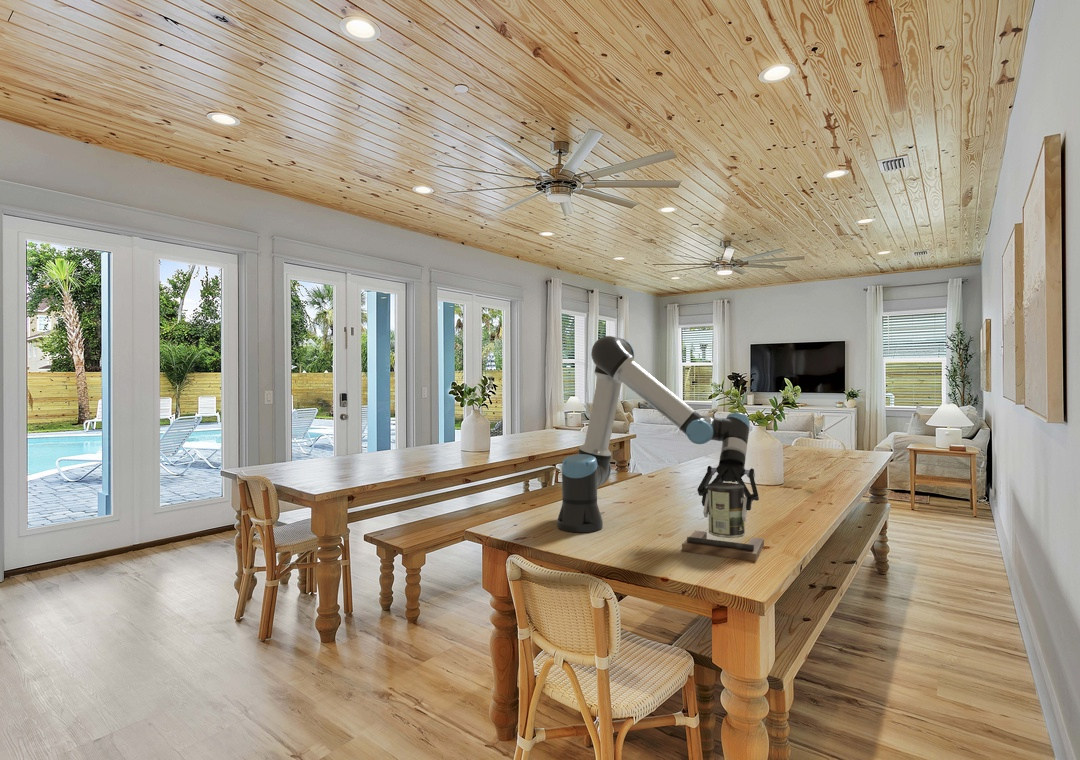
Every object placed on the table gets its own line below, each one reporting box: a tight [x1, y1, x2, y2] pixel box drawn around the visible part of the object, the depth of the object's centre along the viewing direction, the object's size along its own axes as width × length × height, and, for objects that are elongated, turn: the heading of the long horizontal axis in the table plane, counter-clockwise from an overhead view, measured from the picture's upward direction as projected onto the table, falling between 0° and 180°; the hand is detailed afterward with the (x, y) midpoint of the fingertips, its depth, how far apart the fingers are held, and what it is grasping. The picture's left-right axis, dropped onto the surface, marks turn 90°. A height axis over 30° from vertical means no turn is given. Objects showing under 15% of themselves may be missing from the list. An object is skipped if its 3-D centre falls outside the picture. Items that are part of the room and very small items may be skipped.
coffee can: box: [706, 482, 746, 539], centre depth 166 cm, size 10×10×14 cm
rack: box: [681, 530, 765, 562], centre depth 164 cm, size 20×16×4 cm
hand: (724, 516), depth 163 cm, fingers closed on coffee can, 10 cm apart
